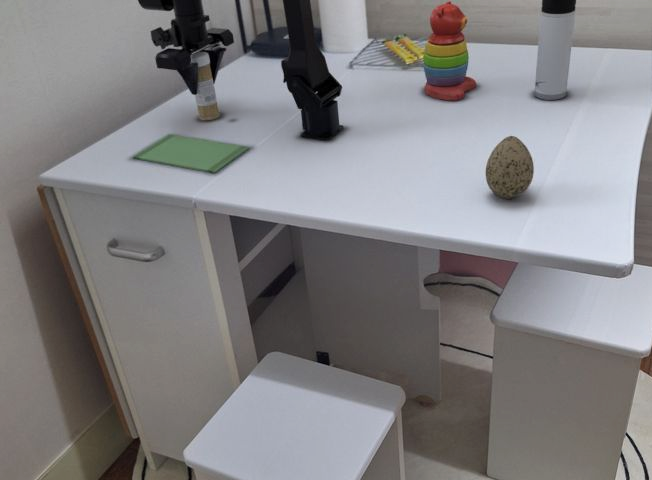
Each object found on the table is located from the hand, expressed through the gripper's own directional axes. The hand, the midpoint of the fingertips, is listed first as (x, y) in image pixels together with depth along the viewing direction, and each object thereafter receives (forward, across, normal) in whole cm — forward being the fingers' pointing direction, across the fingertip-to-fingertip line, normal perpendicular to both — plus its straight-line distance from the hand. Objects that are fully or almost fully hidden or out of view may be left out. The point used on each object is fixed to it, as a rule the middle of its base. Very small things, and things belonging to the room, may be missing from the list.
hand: (203, 89), depth 145 cm
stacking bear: (+6, -28, +43) cm, 52 cm away
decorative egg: (+5, +13, +69) cm, 71 cm away
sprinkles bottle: (+6, 0, 0) cm, 6 cm away
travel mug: (+5, -31, +64) cm, 72 cm away
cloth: (+6, +16, +8) cm, 19 cm away
